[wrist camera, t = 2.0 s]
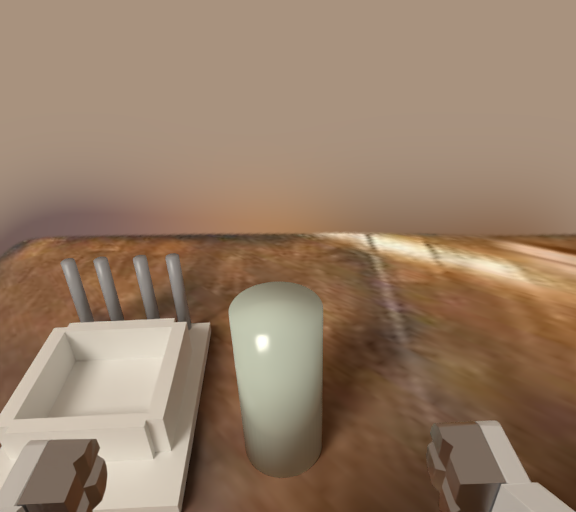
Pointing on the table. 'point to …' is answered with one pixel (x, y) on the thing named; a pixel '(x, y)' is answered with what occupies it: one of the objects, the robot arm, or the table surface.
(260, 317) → the pale green canister
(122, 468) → the dish rack
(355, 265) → the table surface
